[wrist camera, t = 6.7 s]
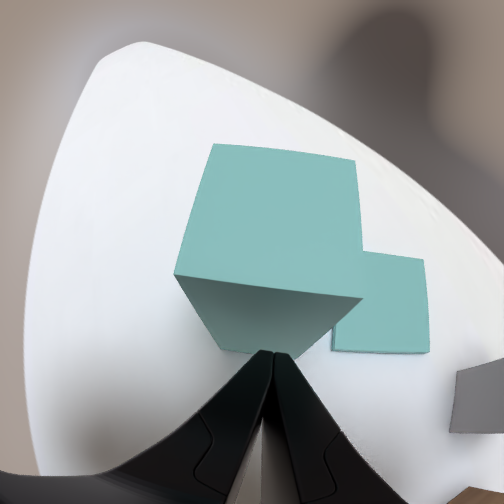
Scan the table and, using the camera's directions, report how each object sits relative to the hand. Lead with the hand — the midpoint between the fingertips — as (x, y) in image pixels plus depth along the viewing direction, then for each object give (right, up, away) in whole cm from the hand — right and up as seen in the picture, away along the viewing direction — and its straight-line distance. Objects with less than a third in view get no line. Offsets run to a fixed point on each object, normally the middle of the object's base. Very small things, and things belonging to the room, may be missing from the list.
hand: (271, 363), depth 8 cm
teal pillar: (0, 0, +8) cm, 8 cm away
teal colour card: (+7, 0, +8) cm, 11 cm away
